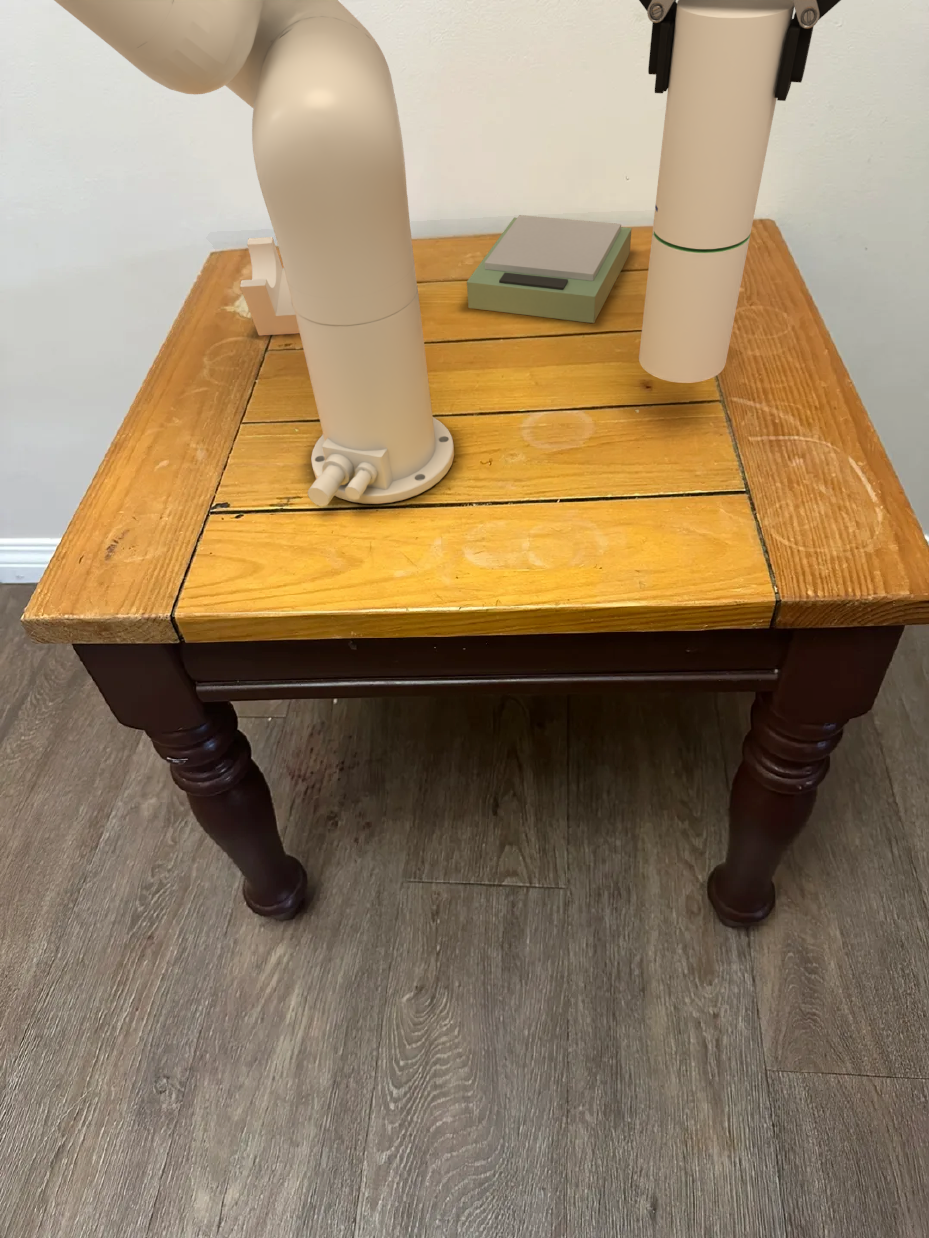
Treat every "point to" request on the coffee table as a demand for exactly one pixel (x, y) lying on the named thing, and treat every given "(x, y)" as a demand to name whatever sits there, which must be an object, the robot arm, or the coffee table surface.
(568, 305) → the kitchen scale
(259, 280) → the bracket
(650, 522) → the coffee table surface
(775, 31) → the cylindrical container
